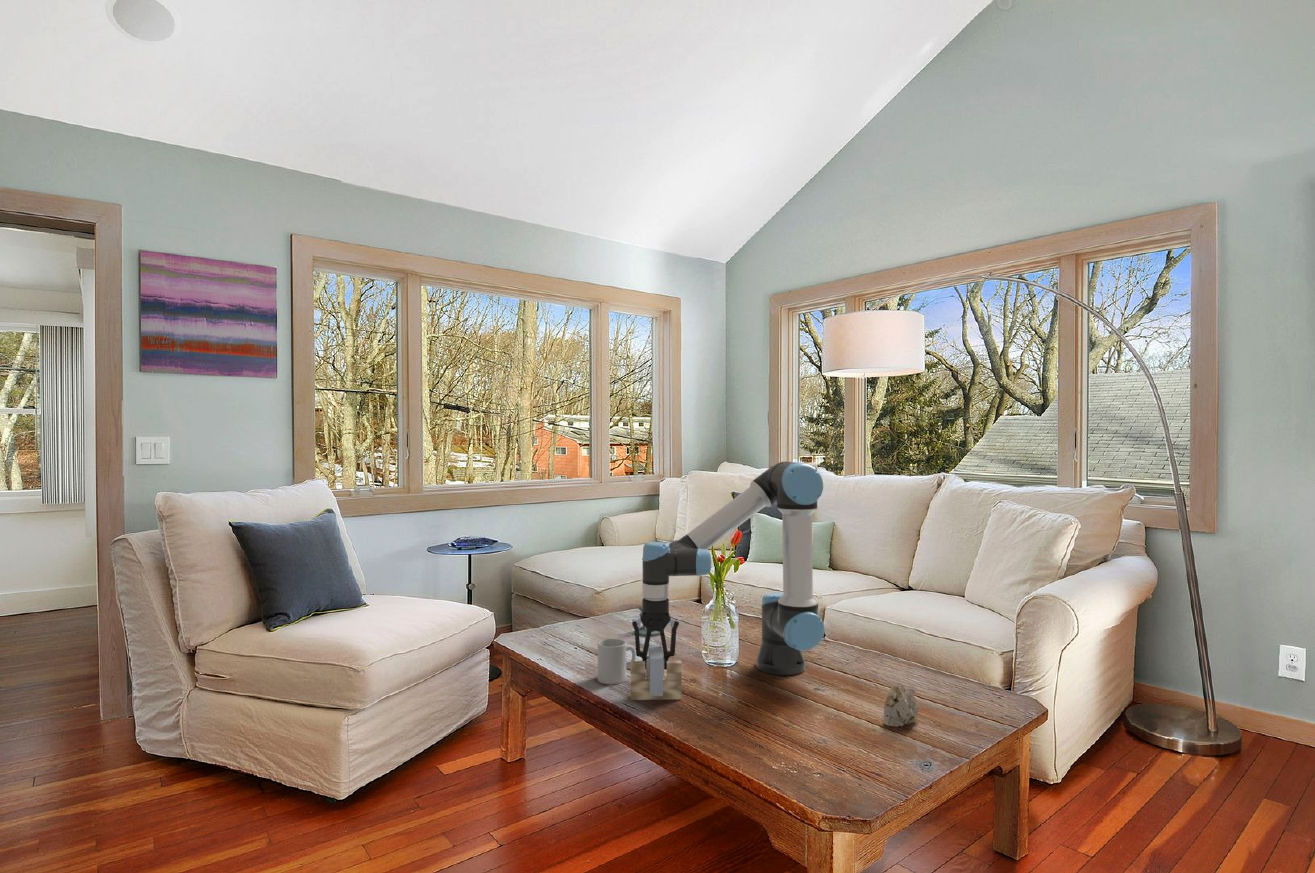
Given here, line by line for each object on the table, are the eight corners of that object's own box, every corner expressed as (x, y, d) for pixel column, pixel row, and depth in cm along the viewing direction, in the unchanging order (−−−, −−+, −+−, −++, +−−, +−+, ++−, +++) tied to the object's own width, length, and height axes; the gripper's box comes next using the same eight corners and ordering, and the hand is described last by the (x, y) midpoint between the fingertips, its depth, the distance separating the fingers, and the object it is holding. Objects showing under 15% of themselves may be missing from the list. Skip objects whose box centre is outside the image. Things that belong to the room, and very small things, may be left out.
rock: (905, 728, 168) (905, 685, 171) (880, 724, 172) (881, 682, 176) (926, 730, 176) (926, 688, 179) (902, 726, 180) (902, 686, 184)
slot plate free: (648, 679, 196) (648, 644, 196) (660, 679, 196) (661, 644, 196) (649, 695, 184) (650, 658, 184) (662, 695, 184) (663, 658, 184)
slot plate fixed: (681, 696, 191) (681, 660, 191) (681, 699, 189) (681, 662, 189) (630, 697, 191) (630, 661, 191) (630, 699, 189) (630, 663, 189)
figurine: (633, 628, 259) (633, 597, 259) (662, 628, 260) (662, 596, 260) (636, 637, 248) (636, 603, 248) (665, 636, 249) (665, 603, 249)
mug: (604, 686, 199) (604, 648, 199) (593, 677, 207) (593, 640, 207) (641, 679, 205) (641, 642, 205) (628, 670, 212) (628, 635, 212)
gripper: (683, 594, 198) (683, 675, 198) (626, 594, 198) (625, 676, 198) (686, 600, 191) (685, 685, 191) (626, 600, 190) (625, 685, 190)
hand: (655, 680), depth 194 cm, fingers closed on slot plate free, 3 cm apart
